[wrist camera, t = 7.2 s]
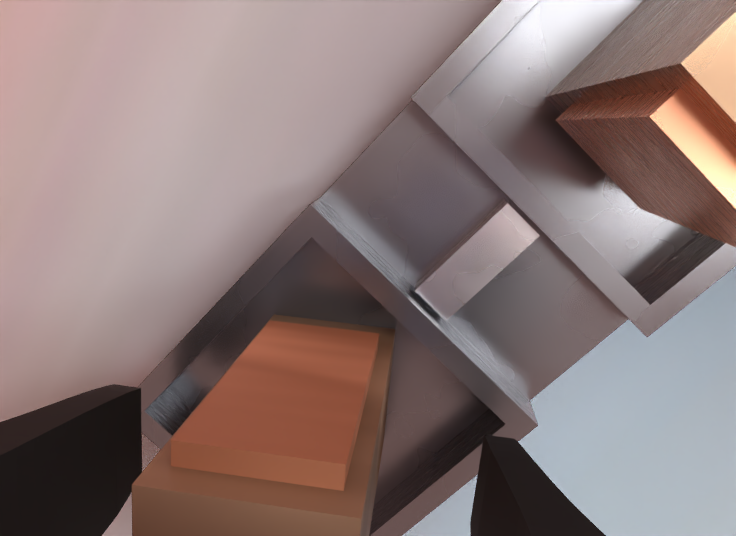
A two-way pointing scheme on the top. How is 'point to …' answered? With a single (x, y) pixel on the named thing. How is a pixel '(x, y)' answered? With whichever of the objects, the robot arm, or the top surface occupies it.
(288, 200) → the top surface
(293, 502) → the wooden block with lid
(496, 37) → the grey compartment box
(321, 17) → the top surface
